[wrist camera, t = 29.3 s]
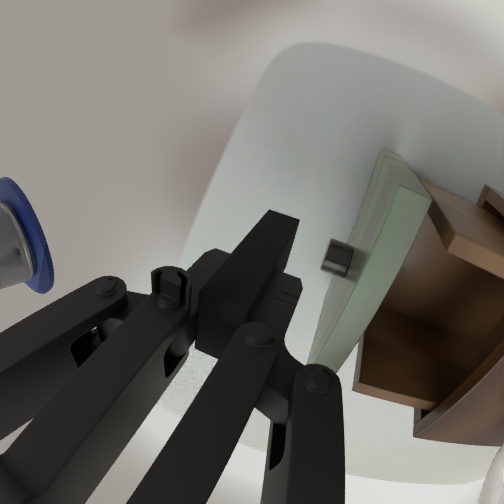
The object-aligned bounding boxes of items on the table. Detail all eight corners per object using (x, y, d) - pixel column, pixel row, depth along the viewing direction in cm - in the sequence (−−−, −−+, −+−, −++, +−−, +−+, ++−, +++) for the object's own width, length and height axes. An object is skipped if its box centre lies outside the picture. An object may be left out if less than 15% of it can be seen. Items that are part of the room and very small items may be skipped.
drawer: (309, 289, 20) (276, 378, 13) (360, 140, 14) (360, 169, 8) (474, 346, 17) (489, 430, 11) (546, 235, 11) (603, 306, 5)
